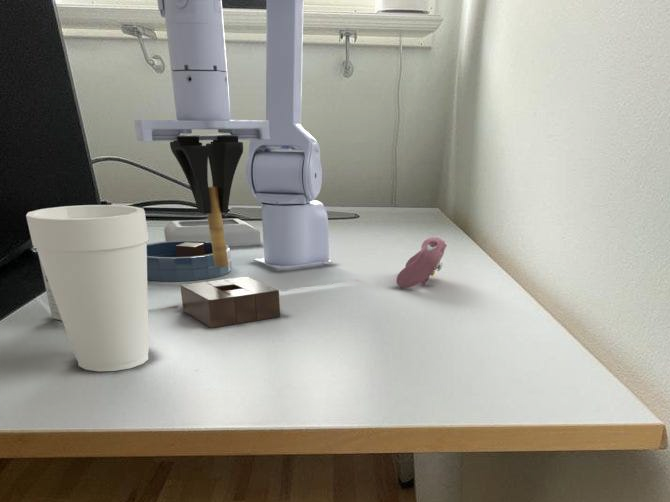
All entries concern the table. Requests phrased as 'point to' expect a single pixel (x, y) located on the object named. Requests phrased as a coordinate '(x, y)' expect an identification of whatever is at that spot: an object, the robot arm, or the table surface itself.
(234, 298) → the stick stand
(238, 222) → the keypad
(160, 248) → the bowl
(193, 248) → the walnut block
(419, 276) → the pink rounded piece
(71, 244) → the foam cup
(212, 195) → the stirring stick
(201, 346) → the table surface
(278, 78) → the robot arm
